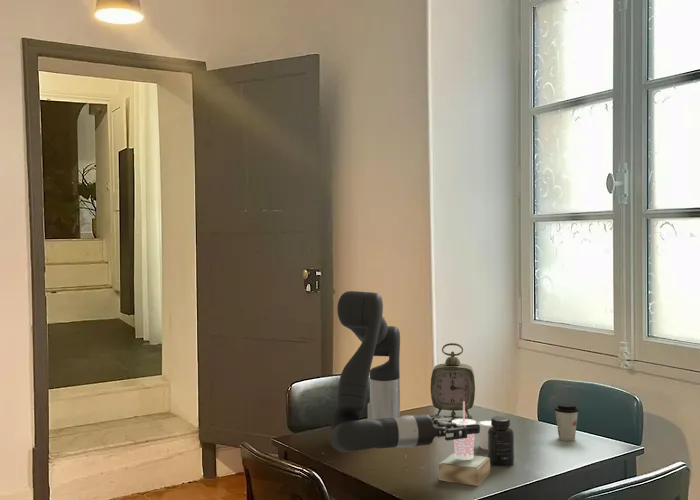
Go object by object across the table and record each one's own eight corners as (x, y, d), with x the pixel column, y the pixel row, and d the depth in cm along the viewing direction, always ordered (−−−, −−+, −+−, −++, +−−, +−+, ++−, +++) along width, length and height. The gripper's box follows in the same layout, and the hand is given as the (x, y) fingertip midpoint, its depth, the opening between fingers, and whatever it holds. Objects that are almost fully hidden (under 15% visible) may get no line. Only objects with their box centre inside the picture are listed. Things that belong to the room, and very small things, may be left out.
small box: (439, 480, 180) (438, 462, 180) (452, 468, 189) (452, 452, 189) (477, 485, 176) (477, 468, 176) (490, 473, 184) (489, 457, 184)
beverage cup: (447, 458, 181) (447, 402, 181) (458, 452, 186) (458, 398, 186) (470, 462, 178) (469, 405, 178) (480, 456, 183) (480, 400, 183)
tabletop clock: (430, 420, 239) (429, 344, 239) (432, 413, 248) (431, 341, 248) (475, 421, 237) (474, 345, 237) (475, 414, 246) (474, 341, 245)
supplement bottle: (485, 459, 196) (484, 415, 196) (509, 458, 197) (509, 414, 197) (492, 467, 190) (491, 421, 189) (517, 466, 190) (517, 420, 190)
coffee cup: (553, 440, 214) (553, 406, 214) (555, 434, 220) (555, 401, 220) (578, 442, 211) (577, 408, 211) (580, 436, 217) (579, 403, 217)
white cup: (502, 451, 204) (501, 426, 204) (477, 450, 205) (477, 425, 205) (502, 444, 211) (501, 420, 211) (478, 443, 212) (477, 419, 212)
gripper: (422, 422, 171) (486, 416, 176) (400, 408, 185) (460, 404, 190) (422, 454, 171) (486, 447, 176) (400, 438, 185) (460, 432, 190)
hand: (472, 425), depth 183 cm, fingers open, 6 cm apart
